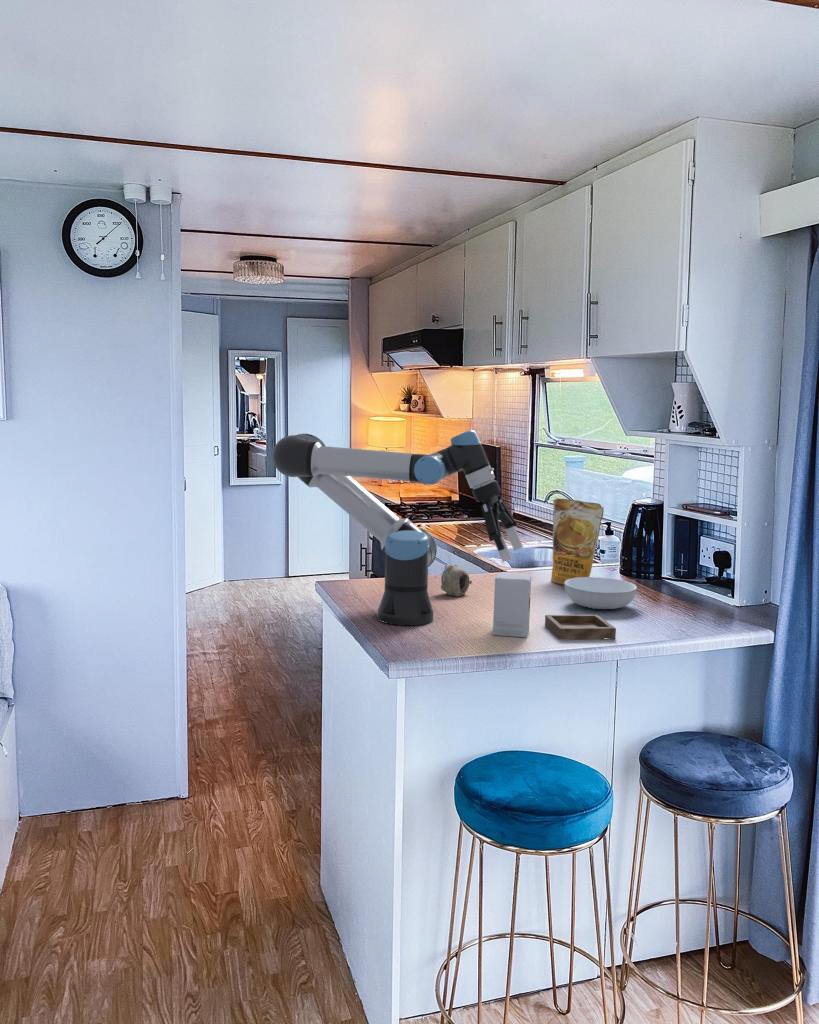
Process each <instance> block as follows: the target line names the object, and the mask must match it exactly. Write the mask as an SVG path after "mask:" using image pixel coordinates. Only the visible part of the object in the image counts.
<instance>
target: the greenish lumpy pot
mask: <svg viewBox="0 0 819 1024" xmlns="http://www.w3.org/2000/svg"><path fill="white" fill-rule="evenodd" d="M440 582H441V585H440V589H441V591H443V592H445V593H446V594H447V595H448V596H455V597H461V596H464V595H466V593H467V591H468V589H469V587H470V585H471V584H472V583H473V581H472V580H470V576H469V573H468V572H467V570H465V569H464V568H462V567H461V566H459V565H457V564H453V565H452V564H449V565H447V566H446V568H445V569H444V570H443V572H442V574H441V579H440Z"/></svg>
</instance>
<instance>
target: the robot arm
mask: <svg viewBox="0 0 819 1024" xmlns="http://www.w3.org/2000/svg"><path fill="white" fill-rule="evenodd" d="M450 444H451V445H449V446H447V447H446V448H443V449H441V450H438V451H435V452H433V453H431V454H424V453H423V454H422V453H408V452H398V451H385V450H376V449H375V450H374V449H373V450H372V449H362V448H350V447H340V446H339V447H338V446H326V444H325V443H324V441H323V440H322V439H321V438H319V437H318V436H315V435H314V434H309V433H300V434H299V433H298V434H291V435H287V436H284V437H282V438H281V439H279V441H277V443H276V444H275V446H274V448H273V450H272V455H271V456H272V463H273V464H274V465H273V466H274V467H275V468H276V470H277V472H279V473H281V474H282V475H283V476H286V477H290V478H298V479H299V480H300V481H301V482H303V483H304V484H305V485H306V486H308V487H309V488H318V489H319V490H320V491H321V492H322V493H323V494H325V495H326V496H327V498H329V499H330V500H331V501H333V502H334V503H335V504H336V505H338V507H340V508H341V509H342V510H343V511H345V512H346V513H347V514H348V515H349V516H350V517H351V518H353V519H354V521H356V522H357V523H358V524H359V525H361V526H362V527H363V528H364V529H365V530H366V531H368V532H369V533H370V534H371V535H372V536H373V537H375V538H376V539H377V540H378V542H380V549H381V550H382V552H383V553H384V554H385V555H384V591H383V594H382V597H381V600H380V603H379V607H378V609H377V620H378V619H379V620H381V621H384V622H387V623H392V624H391V625H393V624H398V625H397V626H404V625H411V626H419V625H420V626H421V625H427V624H430V623H432V622H433V621H434V609H433V606H432V602H431V599H430V596H429V592H428V587H429V586H428V584H429V583H428V581H429V567H430V566H431V565H432V564H433V563H434V561H435V559H436V557H437V549H438V548H437V543H436V540H435V537H433V535H432V534H431V533H430V532H429V531H427V530H426V529H423V528H420V527H419V526H417V525H416V523H413V521H411V520H410V519H409V518H400V517H398V516H397V515H396V514H395V513H394V512H392V510H391V509H389V508H388V507H387V506H385V504H384V503H382V502H381V501H380V500H379V499H377V498H376V497H375V495H373V494H372V493H371V492H369V491H368V490H367V489H366V488H365V487H363V486H362V485H361V484H360V483H359V482H358V481H357V480H355V479H354V477H355V478H366V479H375V480H376V479H377V480H389V481H402V482H413V483H421V484H422V485H424V486H425V485H426V486H429V485H431V486H432V485H435V484H438V483H439V482H440V481H442V480H443V479H445V478H447V477H449V476H452V475H454V474H456V473H459V472H462V471H463V473H464V477H465V479H466V480H467V484H468V486H469V488H470V489H472V491H471V492H472V495H473V497H474V500H475V501H476V502H477V503H480V502H483V504H481V505H480V509H481V512H482V514H483V515H482V516H483V518H484V523H485V527H486V531H487V535H488V539H489V541H490V542H494V545H495V547H496V550H497V552H498V554H499V557H500V559H501V561H502V563H504V562H507V561H510V560H512V559H513V556H512V555H511V553H510V549H509V547H508V544H507V543H506V540H505V537H504V536H502V533H501V532H502V531H501V526H500V523H501V524H502V525H503V526H504V527H505V528H506V529H505V532H506V535H507V537H508V539H509V541H510V544H511V546H512V549H513V551H516V550H520V549H522V548H524V545H523V544H522V541H521V538H520V535H519V534H518V531H517V528H516V526H517V525H518V523H517V521H516V520H515V518H514V517H513V515H512V513H511V512H510V510H509V508H508V507H507V505H506V503H505V502H504V500H503V498H502V495H500V493H501V492H502V490H501V487H500V485H499V482H498V481H497V480H495V478H496V476H495V473H494V471H495V468H493V467H492V466H491V464H490V461H489V459H488V456H487V454H486V451H485V449H484V447H483V445H482V442H481V440H480V438H479V436H478V434H477V432H476V431H475V430H473V429H469V430H466V431H464V432H462V433H460V434H458V435H454V436H453V437H451V438H450ZM379 620H378V621H379ZM381 621H380V622H381ZM384 622H383V623H384ZM387 623H386V624H387Z"/></svg>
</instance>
